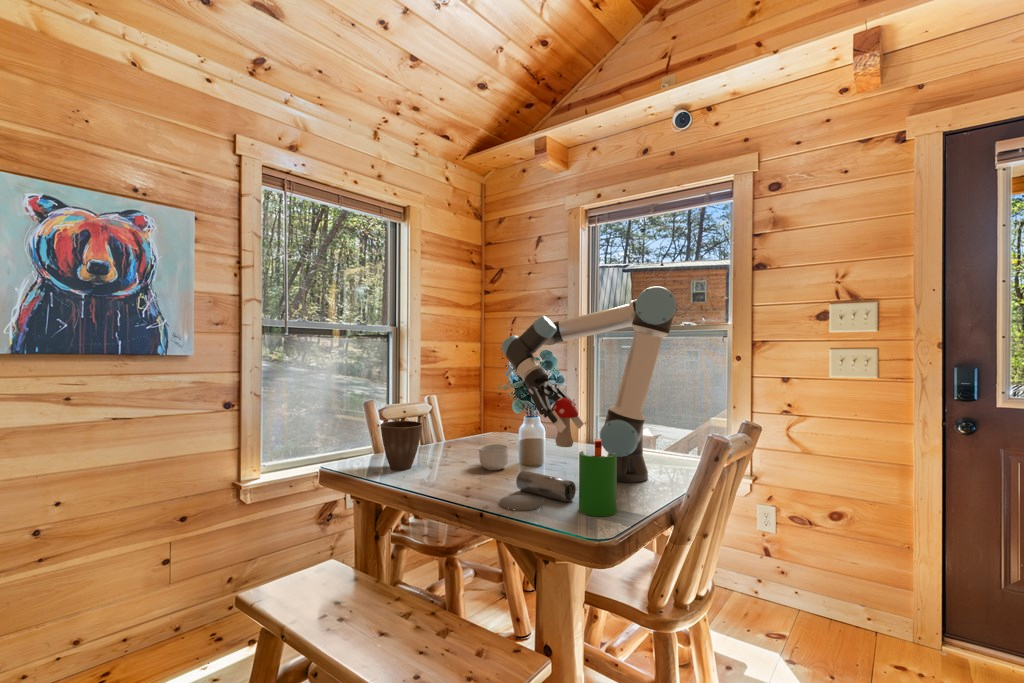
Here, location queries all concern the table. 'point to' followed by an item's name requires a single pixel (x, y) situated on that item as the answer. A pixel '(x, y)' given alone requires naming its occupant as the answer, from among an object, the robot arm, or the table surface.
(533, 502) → the rubber mat
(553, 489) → the metal pipe
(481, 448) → the teacup
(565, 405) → the decorative mushroom
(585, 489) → the motor
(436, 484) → the table surface
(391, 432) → the plant pot
